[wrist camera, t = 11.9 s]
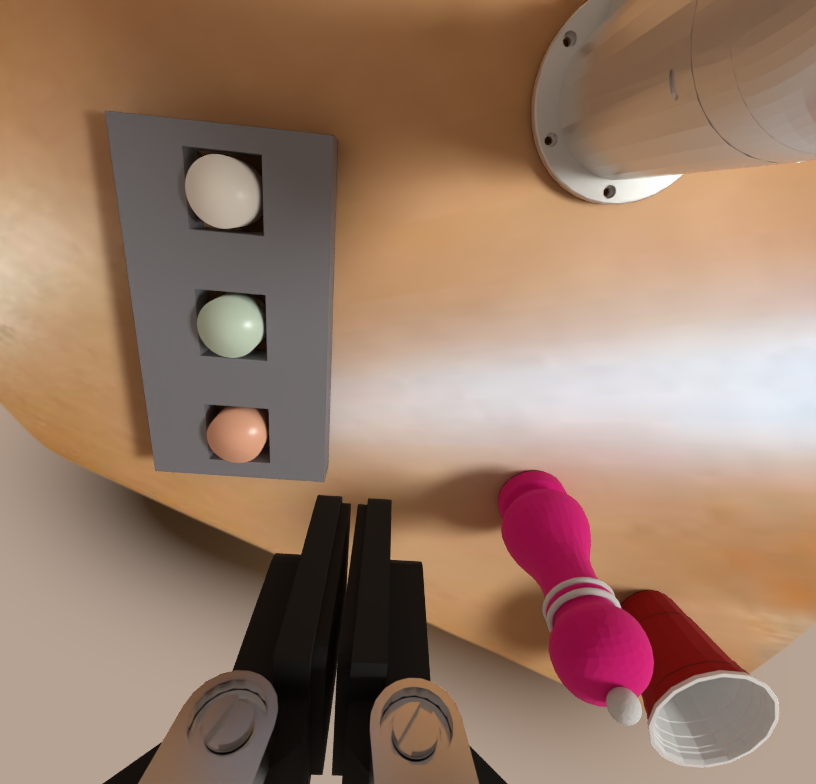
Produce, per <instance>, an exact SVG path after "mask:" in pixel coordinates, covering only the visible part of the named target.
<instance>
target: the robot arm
mask: <svg viewBox="0 0 816 784" xmlns="http://www.w3.org/2000/svg"><path fill="white" fill-rule="evenodd" d="M564 39H566V40H568V43H569V45H568V47H565V46H564V44H563V40H564ZM531 124H532V130H533V136H534V142H535V145H536V148H537V151H538V153H539V156H540V159H541V161H542V163H543V164H544V166H545V168H546V169H547V171H548V173H549V174H550V175H551V177H552V178H553V179H554V180H555V181H556V182H557V183H558V184H559V185H560V186H561V187H562V188H563V189H565V190H566V191H568V192H569V193H571V194H572V195H574V196H576V197H578V198H581V199H583V200H586V201H588V202H593V203H599V204H605V205H606V204H618V205H619V204H625V203H632V202H637V201H640V200H642V199H645V198H648V197H651V196H653V195H655V194H657V193H659V192H660V191H662V190H664V189H666V188H667V187H669V186H670V185H672V184H673V183H674V182H675V181H677V180H678V179H679V178H680V177H682V176H683V175H684V174H689V173H699V172H709V171H719V170H728V169H738V168H748V167H758V166H768V165H778V164H788V163H798V162H803V161H812V160H816V0H588V1H587V2H586V3H584V4H583V5H582V6H581V7H579V8H578V9H577V10H576V11H575V12H574V14H573V15H572V16H571V17H570V18H569V19H568V20H567V21H566V22H565V24H564V25H563V26H562V28H561V29H560V30H559V32H558V33H557V34H556V36H555V37H554V38H553V40H552V42H551V44H550V46H549V47H548V49H547V51H546V53H545V55H544V57H543V59H542V62H541V65H540V68H539V71H538V74H537V77H536V80H535V84H534V90H533V96H532V102H531ZM546 137H548V138H550V144H549V145H546V144H545V141H544V140H545V138H546ZM605 188H606V189H607V194H606V195H605V196H604V195H603V191H604V189H605ZM350 513H351V504H348V503H342V497H340V496H325V495H318V496H317V499H316V503H315V507H314V510H313V514H312V518H311V521H310V525H309V528H308V532H307V536H306V539H305V543H304V547H303V550H302V554H301V555H298V554H280V553H276V554H275V555H274V556H273V559H272V561H271V564H270V566H269V569H268V572H267V575H266V578H265V581H264V584H263V586H262V589H261V592H260V595H259V598H258V600H257V603H256V606H255V609H254V612H253V614H252V617H251V620H250V623H249V626H248V629H247V631H246V635H245V637H244V640H243V643H242V646H241V648H240V651H239V654H238V657H237V660H236V663H235V665H234V668H233V671H232V672H227V673H223V674H220V675H218V676H216V677H214V678H212V679H210V680H208V681H206V682H205V683H204V684H203V685H202V686H201V687H199V688H198V689H197V690H196V691H195V692H194V693H193V694H192V695H191V696H190V698H189V699H188V701H187V702H186V703H185V704H184V706H183V707H182V709H181V711H180V712H179V714H178V716H177V717H176V719H175V721H174V723H173V724H172V726H171V728H170V730H169V732H168V733H167V735H166V737H165V738H164V740H163V742H161V743H160V744H159V745H157V746H156V747H154V748H153V749H151V750H150V751H149V752H147V753H146V754H144V755H143V756H141V757H140V758H139V759H137V760H136V761H134V762H133V763H132V764H130V765H129V766H127V767H126V768H124V769H123V770H122V771H120V772H119V773H117V774H116V775H114V776H113V777H112V778H110V779H109V780H107V781H106V782H105V783H103V784H310V779H311V775H322V774H323V768H324V761H325V753H326V746H327V738H328V731H329V723H330V715H331V708H332V700H333V693H334V685H335V677H336V670H337V681H336V701H335V722H334V743H333V763H332V775H339V776H343V777H342V784H507V783H506V782H505V781H504V780H503V779H502V778H501V777H500V776H499V775H498V774H497V773H496V772H495V771H494V770H493V769H492V768H491V767H490V766H489V765H488V764H487V763H486V762H485V761H484V760H483V759H482V758H481V757H480V756H479V755H478V754H477V753H476V752H475V751H474V750H473V749H472V748H471V747H470V746H469V743H468V739H467V736H466V732H465V728H464V724H463V721H462V717H461V715H460V712H459V710H458V707H457V705H456V703H455V702H454V700H453V699H452V698H451V697H450V695H449V694H448V693H447V692H446V691H445V690H444V689H442V688H441V687H439V686H438V685H437V684H435V683H433V682H430V669H429V654H428V640H427V624H426V609H425V594H424V579H423V566H422V562H418V561H401V560H390V547H391V500H386V499H371V498H368V504H367V505H363V504H358V509H357V517H356V524H355V532H354V539H353V547H352V554H351V562H350V569H349V577H348V584H347V568H348V550H349V531H350ZM346 587H347V592H346ZM337 662H338V664H337Z"/></svg>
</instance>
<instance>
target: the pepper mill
mask: <svg viewBox="0 0 816 784" xmlns="http://www.w3.org/2000/svg"><path fill="white" fill-rule="evenodd" d="M498 507H499V511H500V514H501V517H502V519H503V520H502V525H501V532H502V538H503V541H504V543H505V545H506V547H507V550H508V552H509V553H510V555H511V556H512V557H513V559H514V560H515V561H516V562H517V564H518V565H519V566H520V567H521V568H522V569H524V570H525V571H526V572H527V573H528V574H529V575H531V576H532V577H533V578H534V579H535V580H536V582H537V583H538V584H539V586H540V587H541V589H542V591H543V593H544V596H545V600H544V602H543V606H542V612H543V616H544V618H545V620H546V623H547V627H548V629H549V631H550V633H551V634H550V638H549V653H550V658H551V661H552V664H553V667H554V670H555V672H556V673H557V675H558V677H559V678H560V680H561V682H562V683H563V685H564V686H565V687H566V688H567V689H568V690H569V691H570V692H571V693H572V694H574V695H575V696H576V697H577V698H579V699H581V700H583V701H585V702H587V703H589V704H593V705H597V706H602V707H607V708H608V711H609V713H610V715H611V716H612V717H613V718H614V719H615V720H616V721H617V722H618V723H620V724H623V725H633V724H635V723H637V722H638V720H639V719H640V717H641V714H642V710H641V704H640V701H639V699H638V698H637V697H638V696H640V695H641V694H642V693H643V692H644V690H645V689H646V688H647V686H648V685H649V683H650V680H651V677H652V674H653V666H654V659H653V652H652V647H651V645H650V642H649V640H648V637H647V635H646V633H645V631H644V630H643V628H642V627H641V626H640V624H639V623H638V621H637V620H636V619H635V618H634V617H633V616H631V615H630V614H629V613H628V612H626V611H625V610H623V609H621V606H620V603H619V601H618V600H617V599H616V598H615V595H614V592H613V591H612V589H611V588H610V587H609V586H608V585H607V584H606V583H604V582H603V581H601V580H598V578H597V577H596V575H595V573H594V571H593V569H592V566H591V563H590V547H591V535H590V526H589V523H588V519H587V517H586V515H585V513H584V511H583V509H582V507H581V506H580V505H579V503H578V502H577V501H576V500H575V499H573V498H572V497H571V496H569V495H567V493H566V491H565V490H564V488H563V486H562V484H561V483H560V482H559V480H558V479H557V478H555V477H554V476H552V475H551V474H548V473H546V472H541V471H527V472H524V473H521V474H518V475H516V476H514V477H512V478H511V479H510V480H509V481H508V482H507V483H505V485H504V486H503V488H502V489H501V491H500V493H499V497H498Z"/></svg>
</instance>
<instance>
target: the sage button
mask: <svg viewBox="0 0 816 784" xmlns="http://www.w3.org/2000/svg"><path fill="white" fill-rule="evenodd" d="M197 328H198V333H199V335H200V338H201V339H202V341H203V342H204V344H205V345H206V346H207V347H208V348H209V349H210V350H211V351H213V352H214V353H216V354H218V355H220V356H223V357H228V358H238V357H242V356H244V355H246V354H248V353H250V352H251V351H252V350H253V349H254V348H255V347H256V346H257V345H258V344H259V343H260V342H261V341H262V340H263V339H264V338H265V336H266V335H267V329H266V306H265V305H264V303H263V302H262V301H261V300H260V299H259V298H258V297H256V296H255V295H253V294H248V293H237V292H227V293H225V294H223V295H221V296H219V297H217V298H216V299H214V300H212V301H210V302H208V303H207V304H206V305H205V306H204V307H203V308H202V309H201V311H200V313H199V315H198V319H197Z"/></svg>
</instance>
